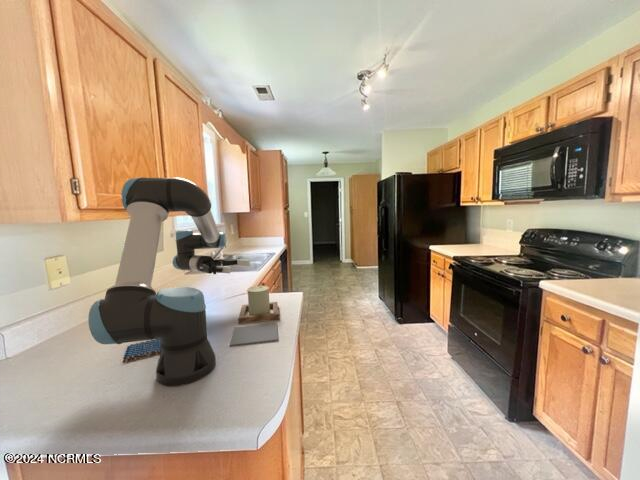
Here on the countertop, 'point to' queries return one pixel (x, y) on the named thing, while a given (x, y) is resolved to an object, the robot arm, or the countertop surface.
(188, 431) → the countertop surface
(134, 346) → the woven mat
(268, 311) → the can
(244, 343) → the pad
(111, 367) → the countertop surface
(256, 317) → the cradle
